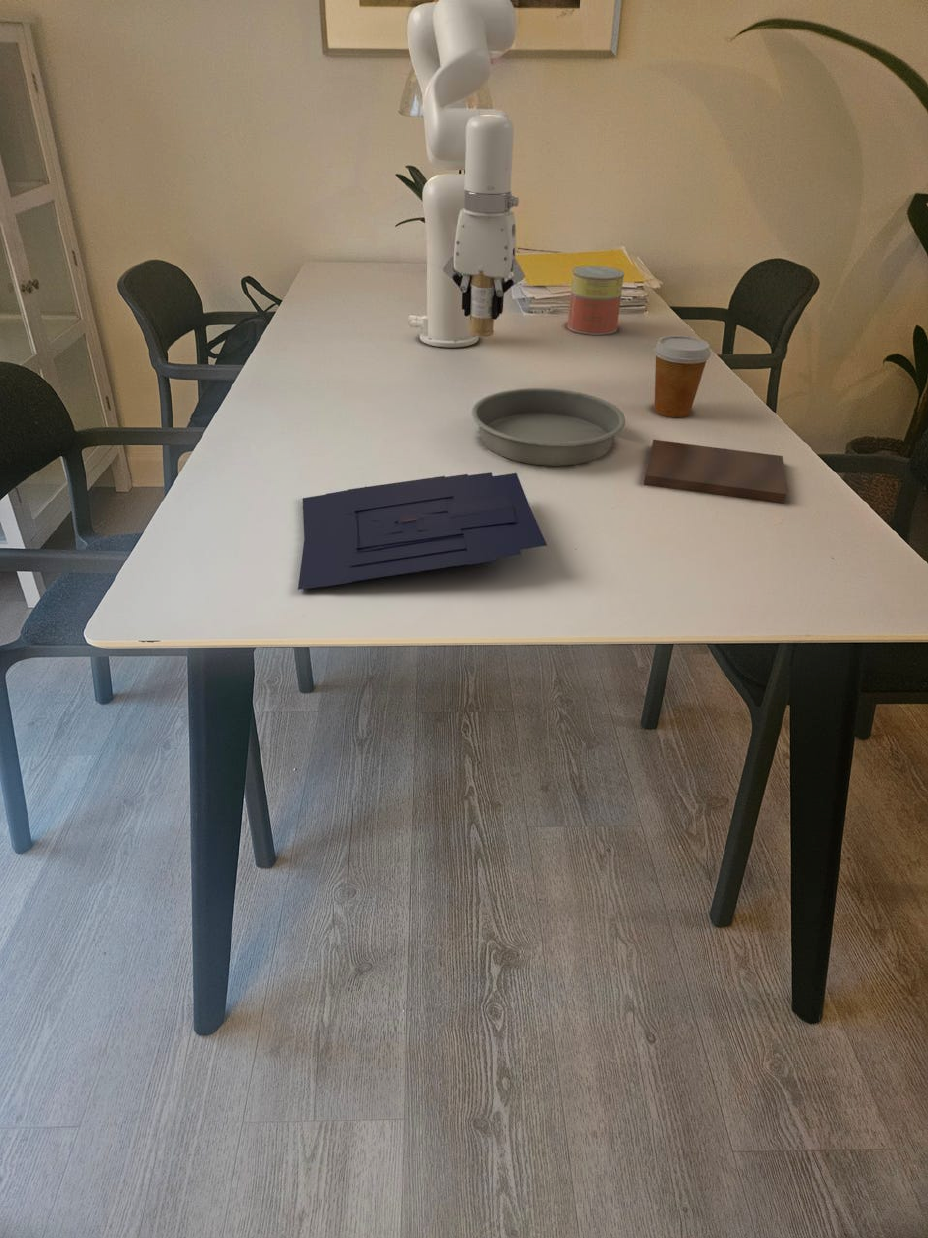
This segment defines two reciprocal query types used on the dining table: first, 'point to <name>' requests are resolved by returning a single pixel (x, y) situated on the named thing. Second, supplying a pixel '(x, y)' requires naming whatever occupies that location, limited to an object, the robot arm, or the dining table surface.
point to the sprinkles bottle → (481, 304)
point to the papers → (414, 527)
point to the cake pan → (547, 425)
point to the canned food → (595, 300)
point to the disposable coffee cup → (678, 373)
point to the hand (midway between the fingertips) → (482, 314)
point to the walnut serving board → (716, 471)
